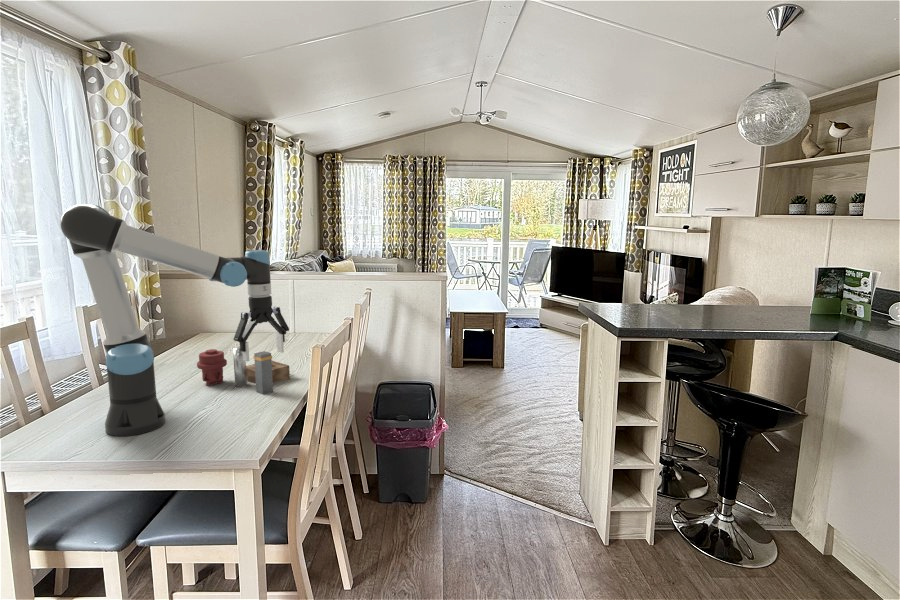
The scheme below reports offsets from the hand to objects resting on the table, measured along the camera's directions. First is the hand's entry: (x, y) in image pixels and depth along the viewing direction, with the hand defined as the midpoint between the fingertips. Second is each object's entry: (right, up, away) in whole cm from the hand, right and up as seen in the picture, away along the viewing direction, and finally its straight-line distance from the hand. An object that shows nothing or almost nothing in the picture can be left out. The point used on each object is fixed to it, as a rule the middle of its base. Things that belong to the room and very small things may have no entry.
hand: (263, 356), depth 185 cm
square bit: (0, -13, +2) cm, 13 cm away
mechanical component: (-22, -11, +11) cm, 27 cm away
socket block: (-5, -10, +16) cm, 20 cm away
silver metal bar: (-11, -12, +9) cm, 18 cm away
